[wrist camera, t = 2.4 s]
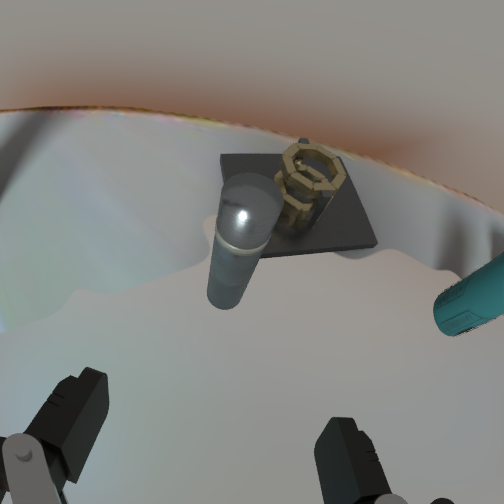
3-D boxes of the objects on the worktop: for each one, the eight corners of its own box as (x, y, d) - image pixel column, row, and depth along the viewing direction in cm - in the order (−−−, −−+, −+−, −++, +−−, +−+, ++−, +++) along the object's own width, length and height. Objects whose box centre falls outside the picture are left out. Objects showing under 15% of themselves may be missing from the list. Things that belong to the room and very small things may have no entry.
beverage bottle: (437, 349, 32) (564, 290, 15) (417, 306, 34) (536, 227, 17) (461, 327, 34) (571, 267, 17) (442, 288, 37) (545, 213, 19)
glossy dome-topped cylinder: (209, 312, 30) (225, 225, 16) (204, 278, 31) (216, 172, 17) (245, 307, 31) (291, 221, 17) (238, 274, 32) (276, 171, 18)
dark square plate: (237, 260, 33) (248, 226, 27) (219, 160, 39) (226, 120, 33) (373, 247, 37) (402, 218, 31) (337, 161, 44) (355, 129, 38)
